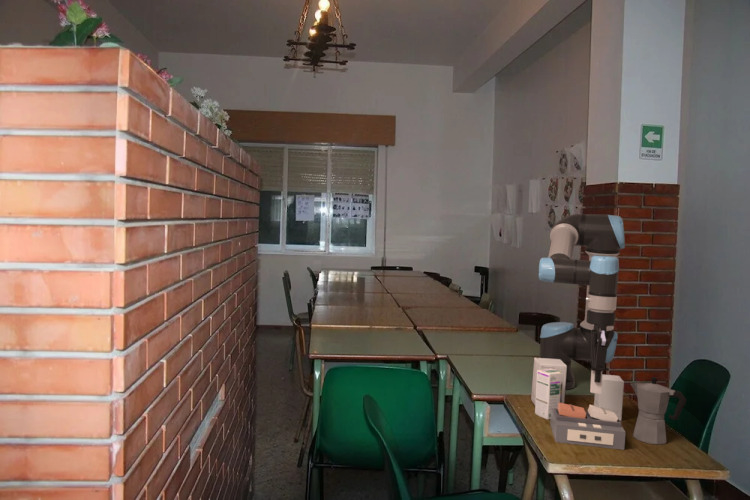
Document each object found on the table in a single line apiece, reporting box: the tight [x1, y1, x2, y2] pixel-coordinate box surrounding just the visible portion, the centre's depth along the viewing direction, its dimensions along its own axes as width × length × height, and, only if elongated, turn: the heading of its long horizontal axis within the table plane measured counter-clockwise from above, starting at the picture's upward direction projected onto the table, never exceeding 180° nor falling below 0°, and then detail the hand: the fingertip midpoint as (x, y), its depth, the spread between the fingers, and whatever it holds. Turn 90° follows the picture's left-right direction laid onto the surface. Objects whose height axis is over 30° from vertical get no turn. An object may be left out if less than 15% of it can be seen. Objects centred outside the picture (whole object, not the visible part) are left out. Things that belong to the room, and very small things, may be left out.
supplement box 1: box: [530, 357, 567, 406], centre depth 193 cm, size 9×9×15 cm
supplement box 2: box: [593, 373, 625, 422], centre depth 184 cm, size 7×7×13 cm
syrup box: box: [534, 368, 563, 421], centre depth 182 cm, size 6×6×14 cm
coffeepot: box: [629, 376, 687, 445], centre depth 165 cm, size 15×9×18 cm, turn 43°
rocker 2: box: [587, 404, 618, 422], centre depth 165 cm, size 5×7×2 cm
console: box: [549, 408, 626, 451], centre depth 166 cm, size 14×18×6 cm
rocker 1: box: [557, 402, 587, 418], centre depth 166 cm, size 5×7×2 cm
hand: (595, 392), depth 165 cm, fingers closed
